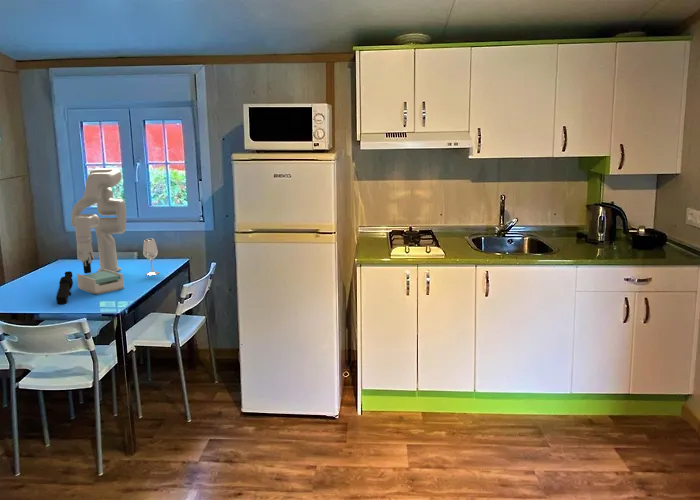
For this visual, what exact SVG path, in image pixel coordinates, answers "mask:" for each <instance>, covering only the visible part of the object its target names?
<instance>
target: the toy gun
mask: <svg viewBox="0 0 700 500" xmlns="http://www.w3.org/2000/svg"><path fill="white" fill-rule="evenodd" d="M58 284H59V286H58V290H57V292H56V297H55V300H56V304H58V305H65V304H67V303H68V299H69V296H71V295H72V291H71V290H72V288H73V285H74V281H73V272H72V271H65V272H64V276H61V278H60V280H59V282H58Z"/></svg>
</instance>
